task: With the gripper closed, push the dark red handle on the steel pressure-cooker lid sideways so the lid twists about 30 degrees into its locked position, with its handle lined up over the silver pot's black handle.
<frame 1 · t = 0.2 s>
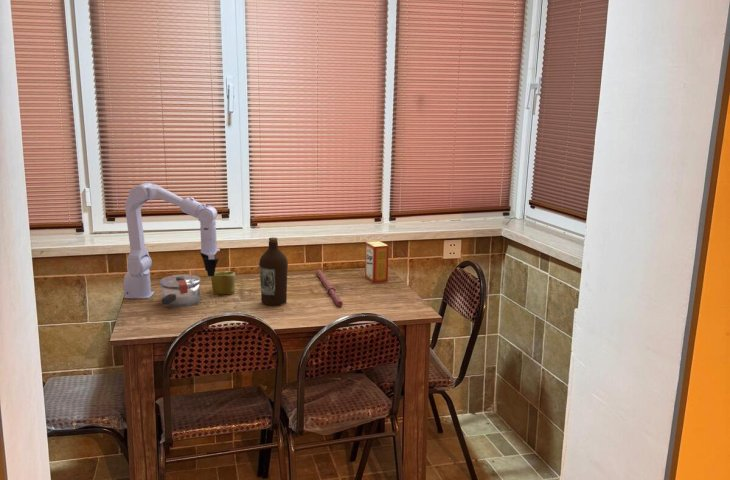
hand: (209, 273, 245), 10 cm above the table, fingers open, 7 cm apart
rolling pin: (328, 290, 262), on the table
silver pot: (181, 301, 244), on the table
mug: (225, 291, 257), on the table
baking soda box: (376, 279, 278), on the table
olive oil: (273, 302, 245), on the table
cooker lid: (181, 281, 239), point 9 cm above the table, hinge at 30.0°
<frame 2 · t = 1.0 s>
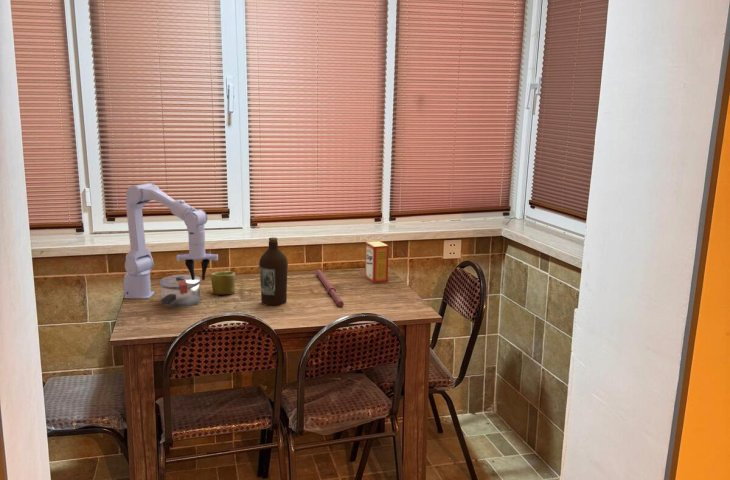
hand: (198, 279, 236), 10 cm above the table, fingers open, 3 cm apart
nothing on the table moved.
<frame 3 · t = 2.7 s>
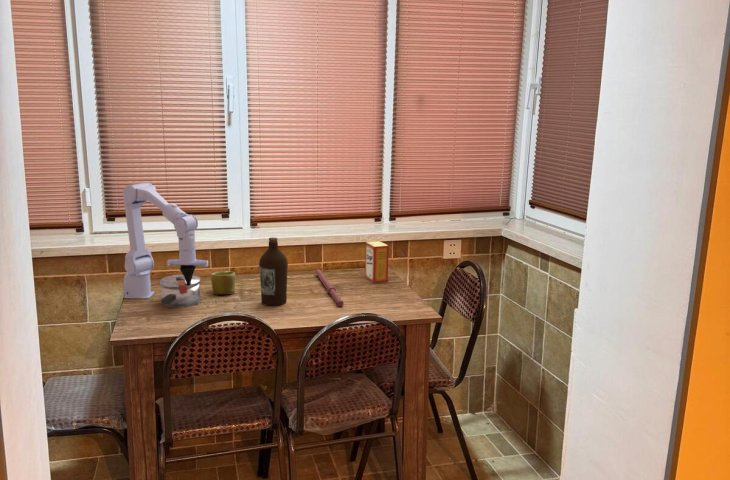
hand: (188, 285, 235), 9 cm above the table, fingers closed
cooker lid: (181, 281, 239), point 9 cm above the table, hinge at 29.1°, touching gripper
everything else where it was.
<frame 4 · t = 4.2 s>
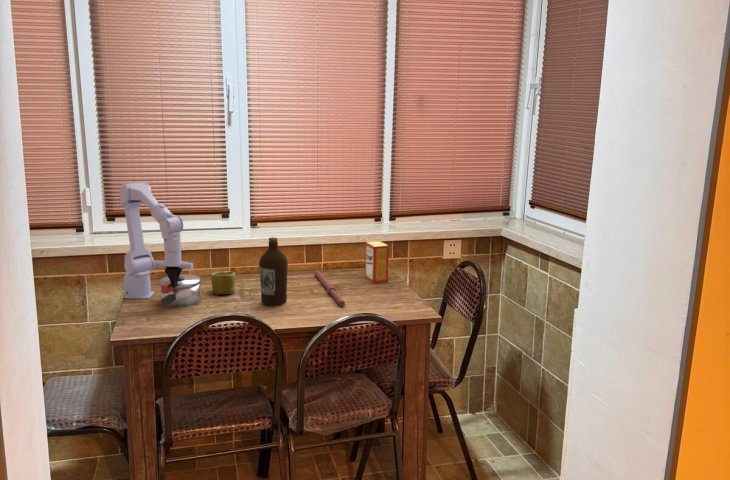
hand: (174, 286, 232), 9 cm above the table, fingers closed
cooker lid: (176, 281, 239), point 9 cm above the table, hinge at 1.2°, touching gripper
everything else where it was.
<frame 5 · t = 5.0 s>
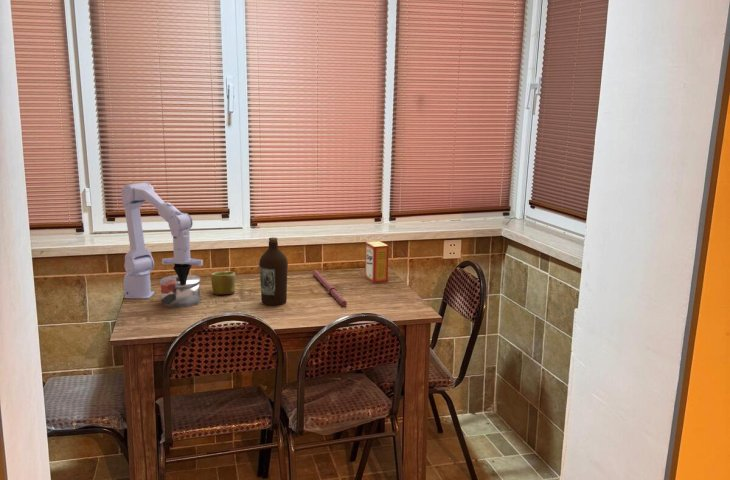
hand: (183, 284, 233), 9 cm above the table, fingers closed
cooker lid: (176, 281, 239), point 9 cm above the table, hinge at 1.1°
everything else where it was.
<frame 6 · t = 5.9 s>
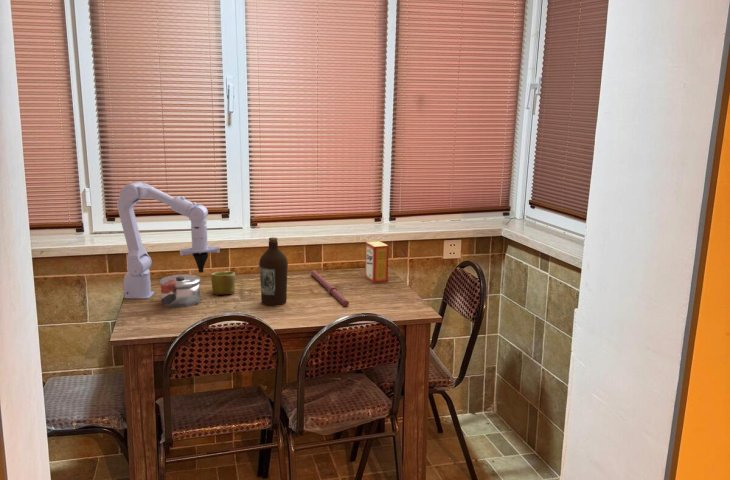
hand: (200, 272, 246), 10 cm above the table, fingers closed
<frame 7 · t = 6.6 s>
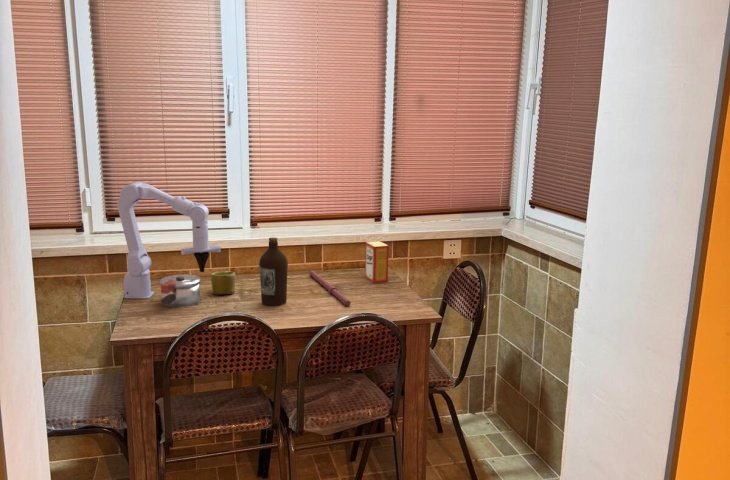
hand: (201, 271, 247), 10 cm above the table, fingers closed
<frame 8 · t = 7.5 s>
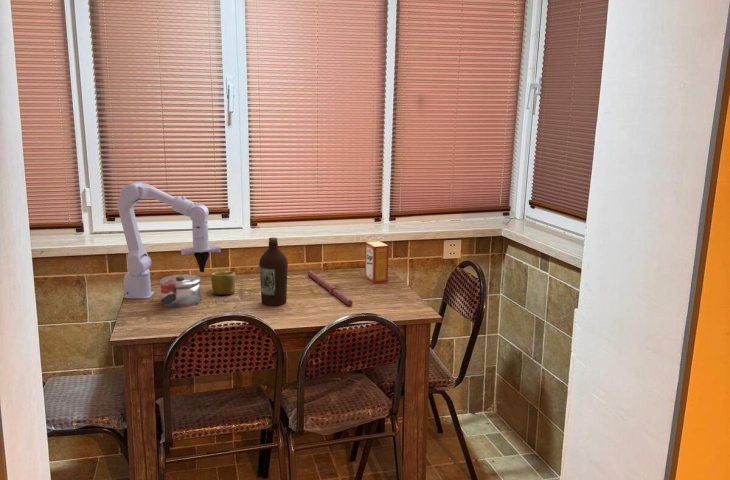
hand: (201, 271, 247), 10 cm above the table, fingers closed
at the end: cooker lid at +1° (first picture: +30°) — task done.
